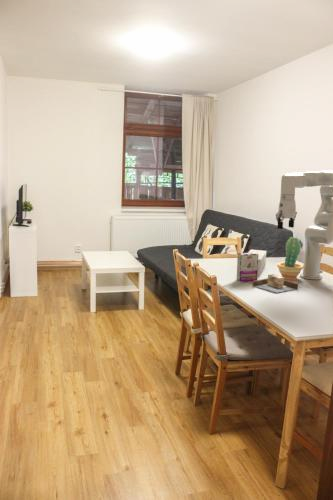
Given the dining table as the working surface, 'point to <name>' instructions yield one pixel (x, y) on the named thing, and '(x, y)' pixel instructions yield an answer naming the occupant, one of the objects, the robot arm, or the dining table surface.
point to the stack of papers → (260, 260)
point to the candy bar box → (247, 267)
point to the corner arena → (263, 285)
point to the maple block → (275, 280)
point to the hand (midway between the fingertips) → (285, 228)
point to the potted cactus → (291, 259)
